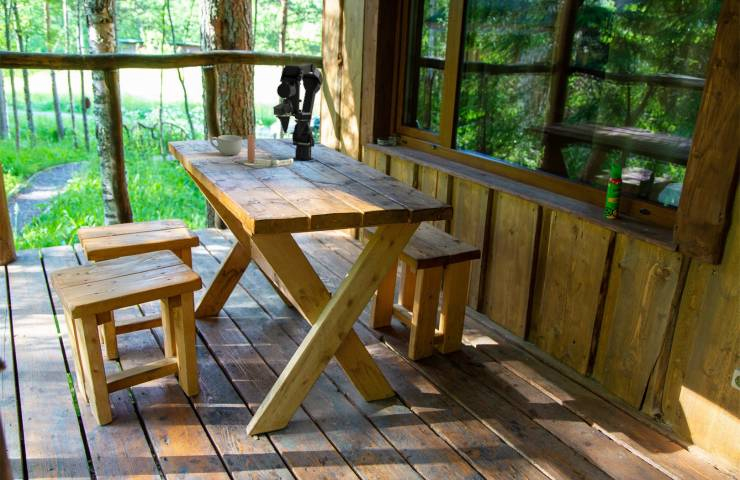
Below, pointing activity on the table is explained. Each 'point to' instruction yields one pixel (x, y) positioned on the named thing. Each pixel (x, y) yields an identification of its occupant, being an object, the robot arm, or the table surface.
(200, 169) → the table surface
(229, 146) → the teacup
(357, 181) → the table surface
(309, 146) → the robot arm
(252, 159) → the brown cylinder with stick
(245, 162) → the board
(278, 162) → the cream dumbbell
